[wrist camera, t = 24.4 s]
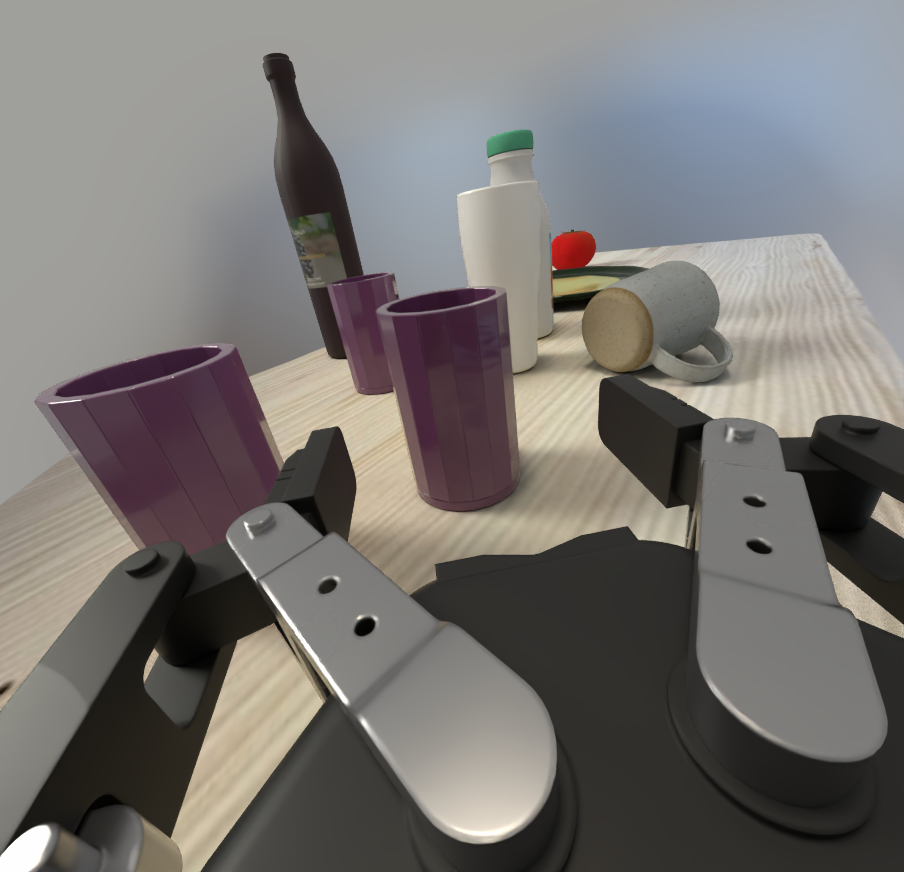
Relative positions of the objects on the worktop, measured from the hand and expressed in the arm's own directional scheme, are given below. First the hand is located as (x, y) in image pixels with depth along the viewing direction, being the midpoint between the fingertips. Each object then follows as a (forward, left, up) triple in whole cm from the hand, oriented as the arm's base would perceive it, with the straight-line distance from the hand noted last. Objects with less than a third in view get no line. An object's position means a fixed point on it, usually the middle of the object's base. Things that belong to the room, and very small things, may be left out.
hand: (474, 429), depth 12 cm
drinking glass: (+11, +24, -7) cm, 28 cm away
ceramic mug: (+21, +16, -7) cm, 28 cm away
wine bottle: (-3, +44, -7) cm, 45 cm away
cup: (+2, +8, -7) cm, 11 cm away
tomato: (+50, +76, -7) cm, 92 cm away
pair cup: (-10, +6, -7) cm, 14 cm away
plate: (+33, +52, -7) cm, 62 cm away
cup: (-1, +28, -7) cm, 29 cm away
